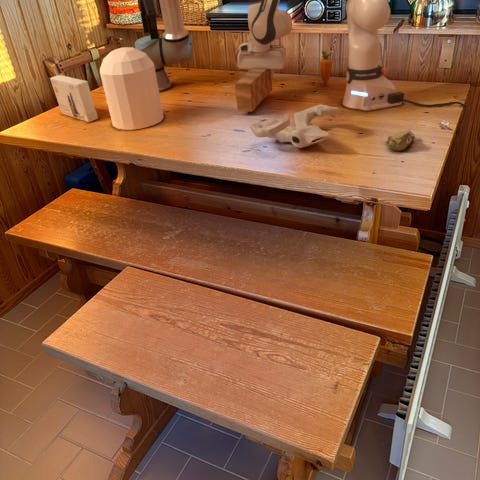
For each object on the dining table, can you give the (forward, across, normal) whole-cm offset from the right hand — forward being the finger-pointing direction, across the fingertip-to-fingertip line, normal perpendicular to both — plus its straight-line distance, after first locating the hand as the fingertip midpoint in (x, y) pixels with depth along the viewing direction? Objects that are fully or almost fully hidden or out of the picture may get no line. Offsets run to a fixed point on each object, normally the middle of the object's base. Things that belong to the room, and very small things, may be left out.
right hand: (262, 79), depth 196 cm
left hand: (-26, +25, +42) cm, 55 cm away
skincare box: (+8, +72, +34) cm, 80 cm away
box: (+5, 0, +10) cm, 12 cm away
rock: (+7, -60, +43) cm, 74 cm away
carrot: (+7, -24, -17) cm, 30 cm away
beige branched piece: (+7, -29, +47) cm, 56 cm away
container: (+8, +43, +34) cm, 55 cm away
